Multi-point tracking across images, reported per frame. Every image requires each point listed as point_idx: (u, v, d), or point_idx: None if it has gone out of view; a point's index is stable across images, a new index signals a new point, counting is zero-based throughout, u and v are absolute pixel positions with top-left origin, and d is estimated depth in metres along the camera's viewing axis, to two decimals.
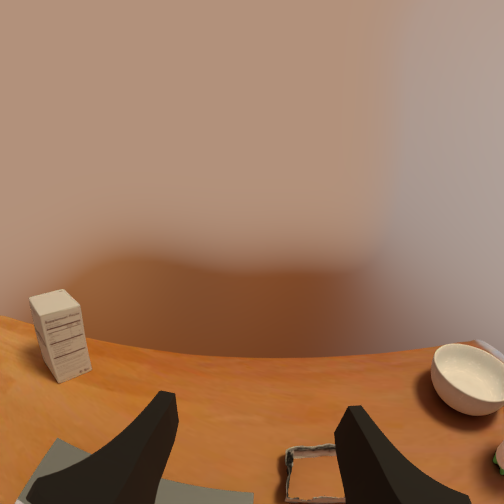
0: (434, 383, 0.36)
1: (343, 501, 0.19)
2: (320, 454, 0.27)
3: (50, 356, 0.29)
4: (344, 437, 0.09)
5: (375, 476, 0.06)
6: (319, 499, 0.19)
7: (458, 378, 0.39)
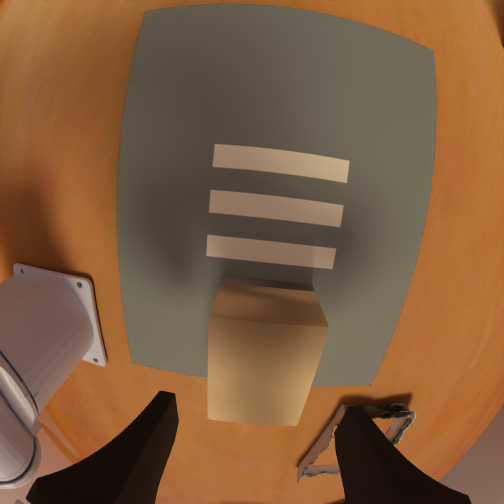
0: None
1: (315, 447, 0.21)
2: (391, 430, 0.21)
3: None
4: (344, 437, 0.09)
5: (375, 476, 0.06)
6: (328, 438, 0.19)
7: None
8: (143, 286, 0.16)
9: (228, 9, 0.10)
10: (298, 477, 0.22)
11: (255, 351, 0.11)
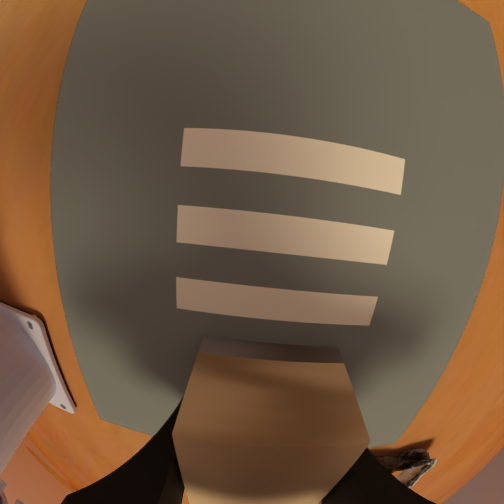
0: None
1: None
2: (406, 473, 0.15)
3: None
4: None
5: (347, 481, 0.06)
6: None
7: None
8: (97, 340, 0.10)
9: None
10: None
11: (251, 470, 0.06)
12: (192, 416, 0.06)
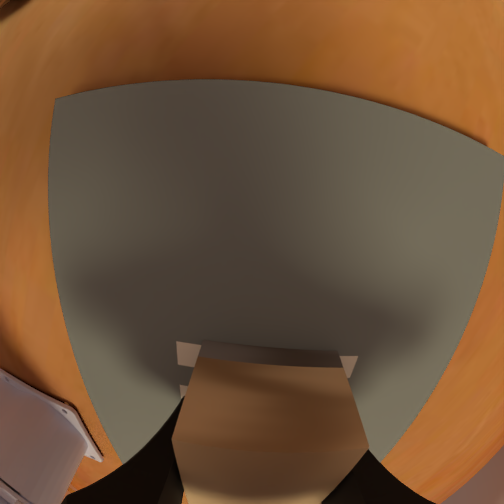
0: None
1: None
2: None
3: None
4: None
5: (347, 481, 0.06)
6: None
7: None
8: (126, 435, 0.12)
9: (176, 94, 0.07)
10: None
11: (250, 475, 0.06)
12: (191, 421, 0.06)
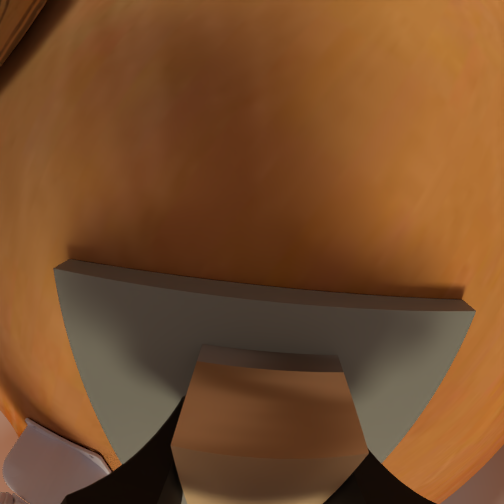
0: None
1: None
2: None
3: None
4: None
5: (347, 481, 0.06)
6: None
7: None
8: None
9: (167, 303, 0.09)
10: None
11: (250, 480, 0.06)
12: (191, 427, 0.06)
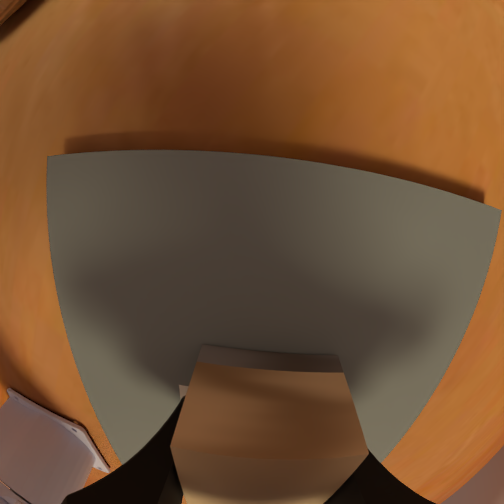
0: None
1: None
2: None
3: None
4: None
5: (347, 481, 0.06)
6: None
7: None
8: (133, 453, 0.13)
9: (167, 166, 0.08)
10: None
11: (250, 480, 0.06)
12: (190, 428, 0.06)
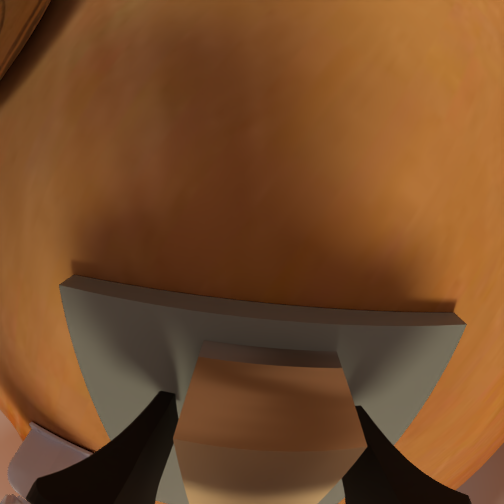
0: None
1: None
2: None
3: None
4: None
5: (375, 476, 0.06)
6: None
7: None
8: None
9: (169, 319, 0.09)
10: None
11: (250, 473, 0.06)
12: (193, 421, 0.06)
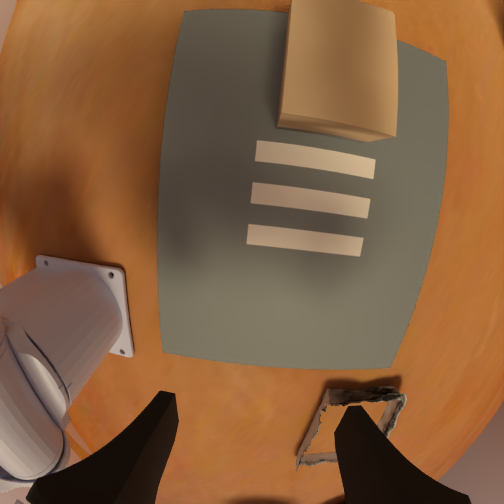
0: None
1: (308, 434, 0.22)
2: (386, 414, 0.22)
3: None
4: (344, 437, 0.09)
5: (375, 476, 0.06)
6: (317, 424, 0.20)
7: None
8: (181, 274, 0.17)
9: (266, 15, 0.12)
10: (296, 466, 0.23)
11: (337, 16, 0.08)
12: None
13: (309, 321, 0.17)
